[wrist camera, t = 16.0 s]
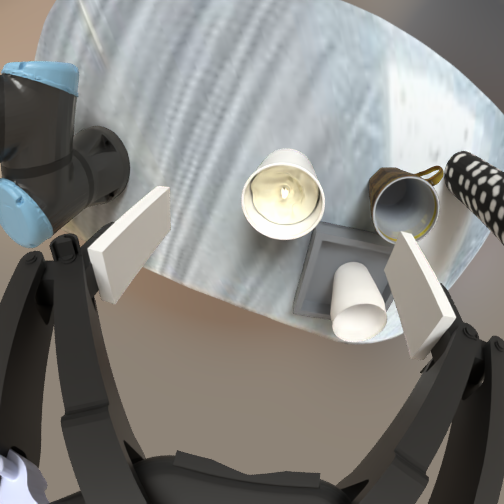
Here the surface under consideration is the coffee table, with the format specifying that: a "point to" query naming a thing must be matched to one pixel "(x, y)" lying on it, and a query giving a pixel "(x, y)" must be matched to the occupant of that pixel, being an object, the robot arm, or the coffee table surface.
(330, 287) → the tray
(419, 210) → the ceramic cup
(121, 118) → the coffee table surface
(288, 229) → the candle holder
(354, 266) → the cup
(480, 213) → the spotted tube
